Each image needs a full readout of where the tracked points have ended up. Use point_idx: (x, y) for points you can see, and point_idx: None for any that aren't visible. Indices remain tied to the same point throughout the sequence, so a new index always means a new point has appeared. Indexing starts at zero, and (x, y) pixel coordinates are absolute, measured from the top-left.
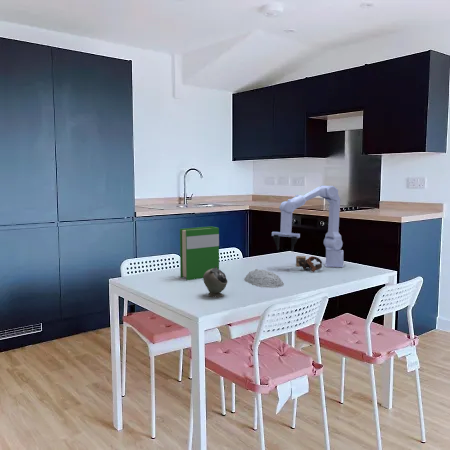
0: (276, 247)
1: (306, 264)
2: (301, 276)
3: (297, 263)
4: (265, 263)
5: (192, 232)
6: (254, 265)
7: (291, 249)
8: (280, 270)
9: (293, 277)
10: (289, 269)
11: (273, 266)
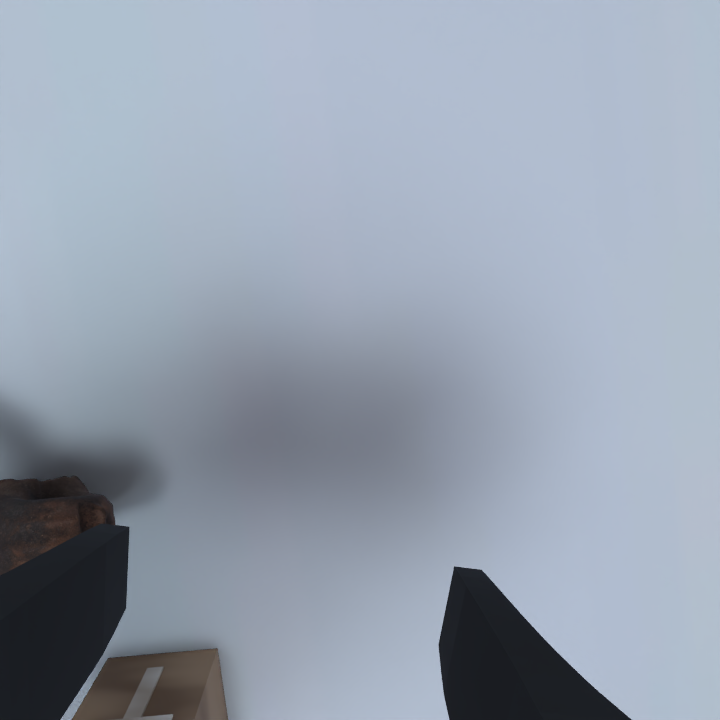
0: (510, 603)
1: None
2: (37, 109)
3: (189, 679)
4: None
5: None
6: (701, 581)
7: (92, 542)
8: (362, 394)
9: (126, 17)
10: (264, 476)
11: None
